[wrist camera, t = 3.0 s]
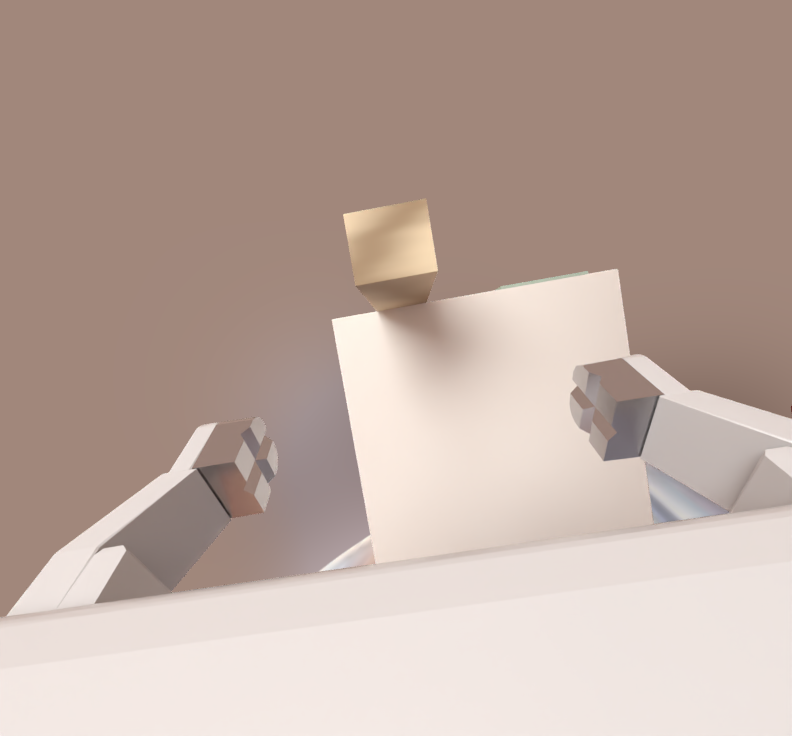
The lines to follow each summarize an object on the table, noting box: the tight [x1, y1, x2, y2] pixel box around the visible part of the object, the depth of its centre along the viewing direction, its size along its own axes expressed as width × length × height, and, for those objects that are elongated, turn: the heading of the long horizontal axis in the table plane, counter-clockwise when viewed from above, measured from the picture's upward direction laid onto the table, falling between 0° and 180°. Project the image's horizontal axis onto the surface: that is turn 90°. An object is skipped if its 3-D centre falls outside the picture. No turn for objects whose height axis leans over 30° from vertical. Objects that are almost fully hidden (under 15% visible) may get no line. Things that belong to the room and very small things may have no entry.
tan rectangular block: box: [343, 199, 438, 311], centre depth 27 cm, size 4×24×3 cm, turn 179°
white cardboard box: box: [332, 269, 654, 564], centre depth 32 cm, size 20×14×26 cm
